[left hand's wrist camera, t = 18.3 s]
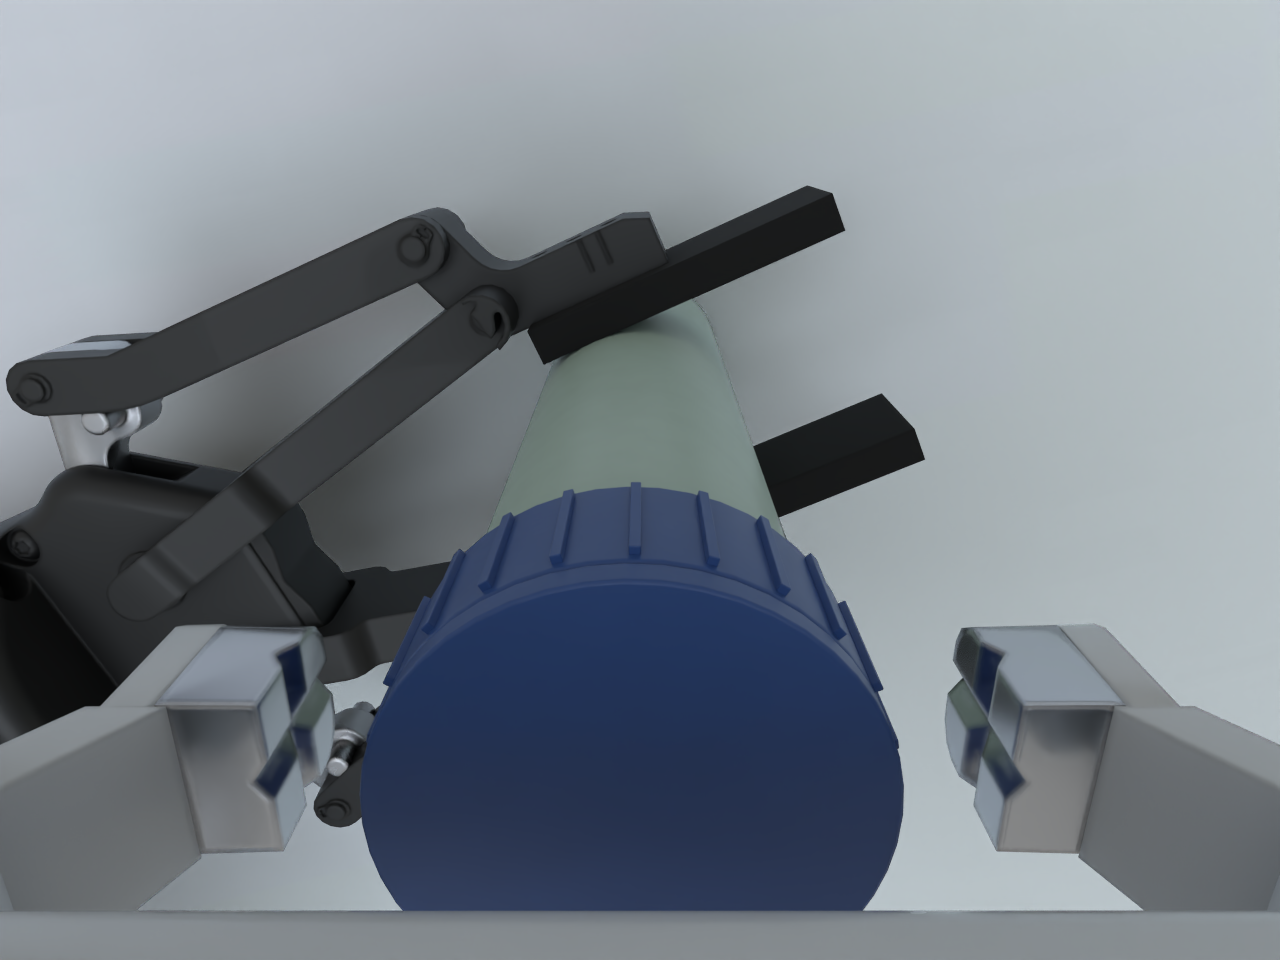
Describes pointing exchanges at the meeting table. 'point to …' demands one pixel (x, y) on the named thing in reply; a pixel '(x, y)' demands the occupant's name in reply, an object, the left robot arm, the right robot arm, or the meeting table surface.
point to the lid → (632, 722)
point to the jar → (640, 421)
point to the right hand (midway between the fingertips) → (863, 321)
